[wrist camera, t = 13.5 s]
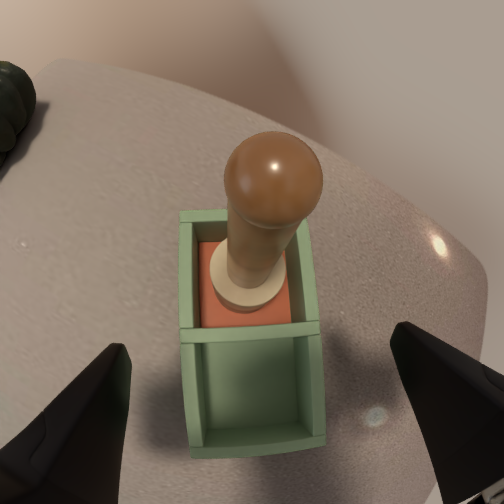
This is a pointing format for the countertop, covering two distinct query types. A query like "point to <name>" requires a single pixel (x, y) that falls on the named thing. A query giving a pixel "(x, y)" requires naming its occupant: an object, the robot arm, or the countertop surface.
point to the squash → (14, 104)
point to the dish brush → (262, 217)
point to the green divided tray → (248, 353)
